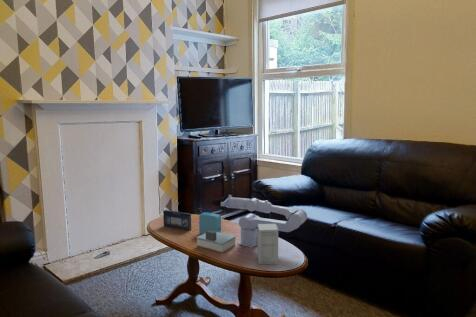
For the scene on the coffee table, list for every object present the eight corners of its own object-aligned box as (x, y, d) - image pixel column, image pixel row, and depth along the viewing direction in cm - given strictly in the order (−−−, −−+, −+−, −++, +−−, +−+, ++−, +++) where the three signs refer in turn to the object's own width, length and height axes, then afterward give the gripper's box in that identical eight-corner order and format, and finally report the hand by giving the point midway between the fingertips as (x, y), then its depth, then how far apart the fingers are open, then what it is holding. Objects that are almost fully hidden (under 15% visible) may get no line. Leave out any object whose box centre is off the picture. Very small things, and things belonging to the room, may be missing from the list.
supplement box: (275, 256, 186) (276, 223, 183) (278, 264, 176) (279, 229, 174) (256, 256, 185) (257, 223, 183) (258, 264, 176) (258, 229, 174)
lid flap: (235, 237, 198) (235, 229, 198) (222, 245, 188) (222, 236, 187) (210, 231, 207) (210, 223, 206) (196, 238, 197) (196, 229, 196)
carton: (235, 245, 199) (235, 238, 198) (222, 253, 189) (222, 245, 188) (210, 239, 207) (210, 232, 207) (197, 246, 197) (197, 238, 197)
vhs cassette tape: (163, 226, 228) (162, 210, 227) (166, 225, 231) (165, 209, 229) (188, 231, 220) (188, 214, 219) (191, 229, 223) (191, 213, 221)
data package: (221, 235, 214) (221, 214, 213) (217, 237, 210) (217, 216, 209) (203, 231, 220) (203, 211, 218) (199, 233, 216) (198, 213, 214)
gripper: (243, 193, 208) (222, 192, 214) (231, 197, 195) (208, 195, 201) (243, 206, 208) (222, 204, 214) (231, 211, 195) (208, 208, 202)
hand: (215, 201), depth 208 cm, fingers open, 7 cm apart
